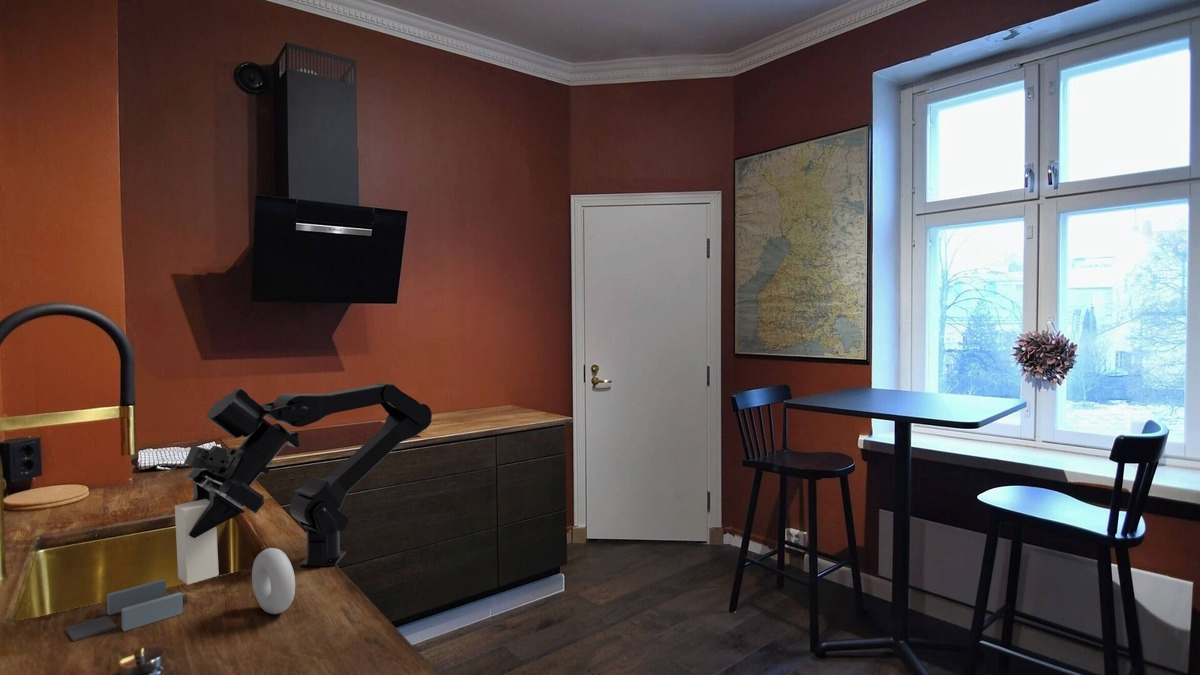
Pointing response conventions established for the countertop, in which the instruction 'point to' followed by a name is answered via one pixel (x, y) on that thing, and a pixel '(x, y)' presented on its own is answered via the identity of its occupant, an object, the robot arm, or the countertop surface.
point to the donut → (273, 580)
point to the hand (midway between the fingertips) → (186, 533)
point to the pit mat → (90, 628)
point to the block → (195, 544)
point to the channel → (144, 604)
